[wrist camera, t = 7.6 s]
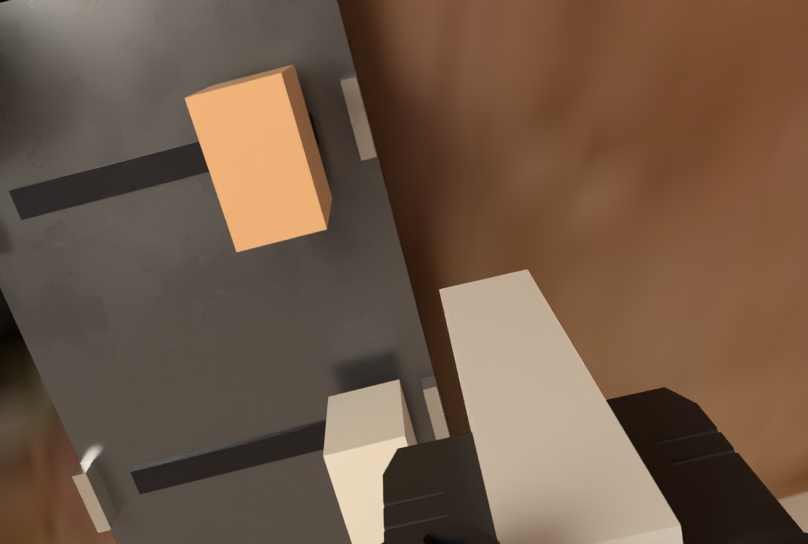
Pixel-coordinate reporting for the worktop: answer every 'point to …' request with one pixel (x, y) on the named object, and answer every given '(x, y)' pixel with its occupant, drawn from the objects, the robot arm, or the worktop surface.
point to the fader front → (262, 157)
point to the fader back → (365, 453)
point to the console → (195, 268)
